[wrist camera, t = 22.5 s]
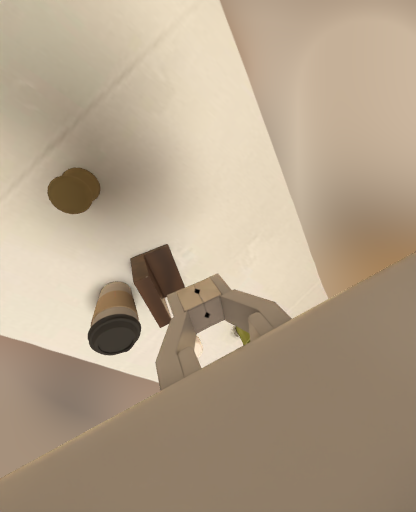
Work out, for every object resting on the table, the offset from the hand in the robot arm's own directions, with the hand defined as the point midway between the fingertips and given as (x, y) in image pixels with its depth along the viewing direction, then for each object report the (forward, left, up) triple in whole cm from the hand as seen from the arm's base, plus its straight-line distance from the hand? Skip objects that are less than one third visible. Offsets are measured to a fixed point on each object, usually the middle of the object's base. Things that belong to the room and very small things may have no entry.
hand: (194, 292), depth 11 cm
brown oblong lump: (-10, 0, -35) cm, 36 cm away
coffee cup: (-6, -24, -35) cm, 43 cm away
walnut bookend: (+4, -20, -34) cm, 40 cm away
